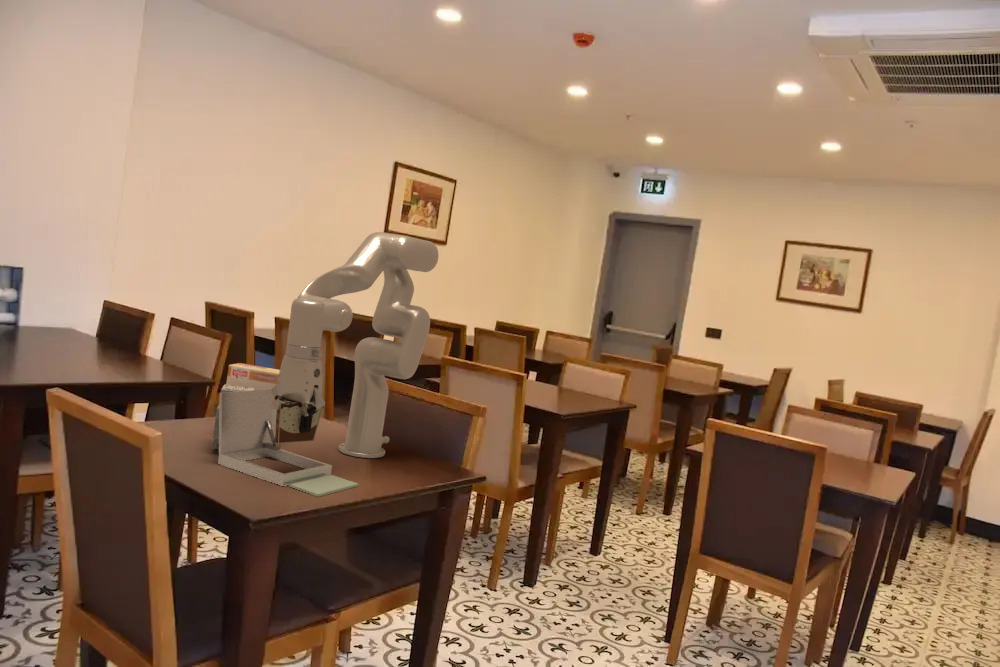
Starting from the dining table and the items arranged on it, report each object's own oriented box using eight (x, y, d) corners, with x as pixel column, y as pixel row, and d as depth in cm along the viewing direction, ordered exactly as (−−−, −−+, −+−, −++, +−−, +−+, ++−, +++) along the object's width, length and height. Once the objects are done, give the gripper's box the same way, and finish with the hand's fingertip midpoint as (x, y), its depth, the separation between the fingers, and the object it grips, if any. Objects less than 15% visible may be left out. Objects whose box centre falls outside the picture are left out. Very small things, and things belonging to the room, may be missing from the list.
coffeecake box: (283, 442, 202) (293, 371, 201) (272, 447, 195) (282, 374, 194) (230, 432, 204) (240, 362, 202) (217, 437, 196) (228, 364, 195)
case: (260, 452, 188) (269, 388, 187) (330, 475, 178) (340, 408, 177) (209, 461, 174) (219, 392, 173) (282, 486, 164) (293, 413, 163)
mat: (331, 477, 177) (331, 474, 177) (358, 486, 173) (358, 483, 173) (289, 487, 164) (289, 484, 164) (317, 496, 161) (318, 494, 161)
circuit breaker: (209, 455, 179) (218, 394, 178) (216, 441, 192) (224, 384, 191) (242, 458, 181) (251, 397, 180) (247, 444, 194) (255, 387, 193)
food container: (305, 432, 182) (312, 392, 181) (319, 440, 178) (326, 400, 176) (258, 435, 173) (265, 393, 172) (271, 444, 169) (278, 401, 167)
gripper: (342, 358, 172) (333, 435, 174) (286, 345, 180) (277, 418, 182) (321, 360, 166) (311, 439, 167) (263, 346, 173) (254, 422, 175)
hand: (293, 427), depth 175 cm, fingers closed on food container, 5 cm apart
